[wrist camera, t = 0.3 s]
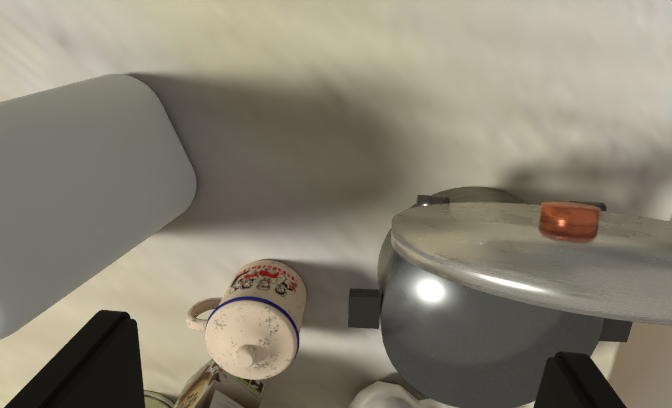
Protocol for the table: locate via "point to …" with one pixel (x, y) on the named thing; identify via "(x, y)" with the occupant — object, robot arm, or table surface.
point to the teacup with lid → (254, 320)
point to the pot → (469, 327)
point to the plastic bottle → (81, 187)
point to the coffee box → (220, 390)
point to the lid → (546, 255)
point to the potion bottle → (390, 398)
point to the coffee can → (156, 400)
